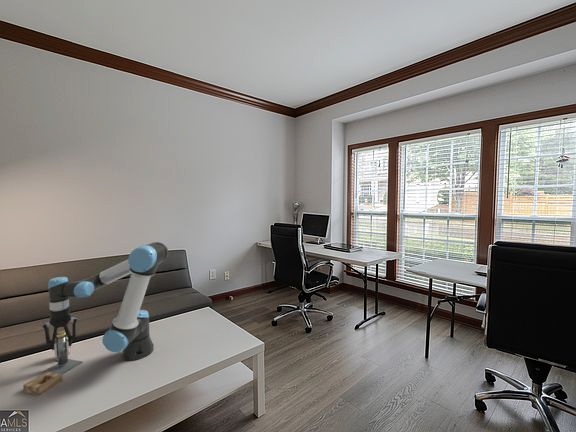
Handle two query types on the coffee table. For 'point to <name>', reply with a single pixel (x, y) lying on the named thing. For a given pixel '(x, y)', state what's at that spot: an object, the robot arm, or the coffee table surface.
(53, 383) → the block
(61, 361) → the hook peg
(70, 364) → the rubber mat
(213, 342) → the coffee table surface
